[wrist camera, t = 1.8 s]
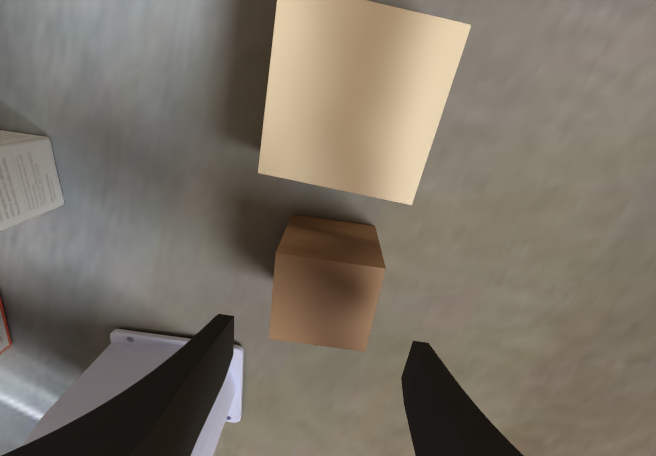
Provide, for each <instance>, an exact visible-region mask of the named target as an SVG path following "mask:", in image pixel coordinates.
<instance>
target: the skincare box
mask: <svg viewBox="0 0 656 456" xmlns="http://www.w3.org/2000/svg"><path fill="white" fill-rule="evenodd" d="M63 203H64V199H63V195H62V191H61V187H60V183H59V178H58V174H57V170H56V165H55V160H54V155H53V151H52V146H51V142H50V139H49V138H48V137H46V136H37V135H31V134H24V133H17V132H10V131H3V130H0V231H3V230H6V229H8V228H10V227H12V226H15V225H17V224H20V223H22V222H25V221H27V220H30V219H32V218H34V217H37V216H39V215H41V214H44V213H46V212H49V211H51V210H53V209H56V208H58V207H61V206H62V205H63Z"/></svg>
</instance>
